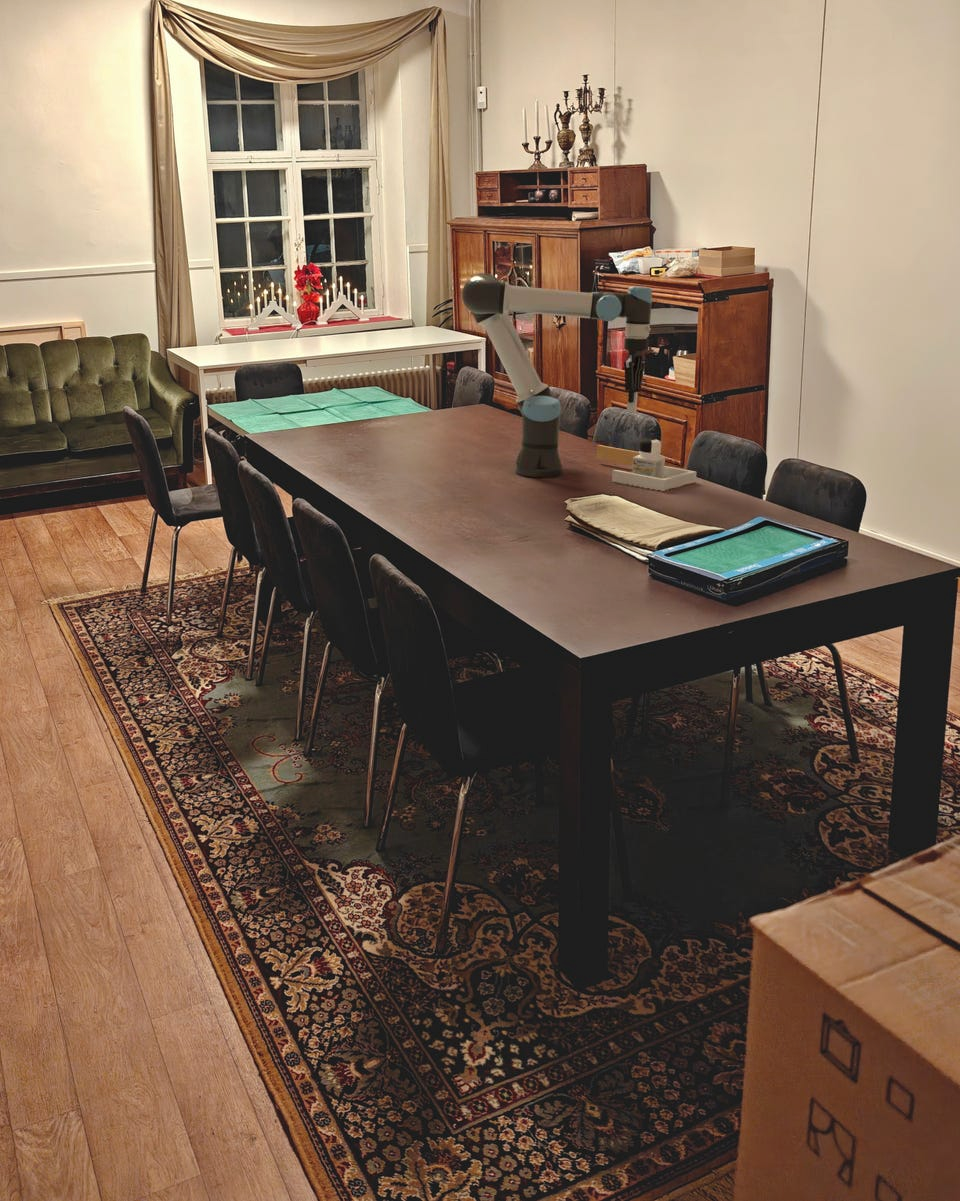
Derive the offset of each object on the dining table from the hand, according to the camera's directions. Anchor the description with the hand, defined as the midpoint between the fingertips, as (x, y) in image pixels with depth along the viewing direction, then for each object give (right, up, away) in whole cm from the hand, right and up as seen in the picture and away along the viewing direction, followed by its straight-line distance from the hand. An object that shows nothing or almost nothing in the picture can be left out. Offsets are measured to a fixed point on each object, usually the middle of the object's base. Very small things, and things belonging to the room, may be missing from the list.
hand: (631, 412), depth 367 cm
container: (+4, -23, -11) cm, 26 cm away
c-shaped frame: (+5, -24, -13) cm, 27 cm away
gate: (-2, -16, +7) cm, 17 cm away
